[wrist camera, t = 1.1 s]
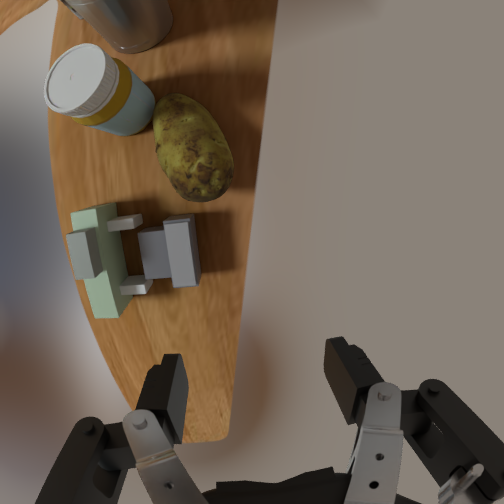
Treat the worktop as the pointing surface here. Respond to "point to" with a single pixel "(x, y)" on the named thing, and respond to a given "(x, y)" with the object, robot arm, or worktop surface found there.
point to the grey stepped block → (172, 251)
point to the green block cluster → (104, 259)
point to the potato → (191, 148)
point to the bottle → (98, 91)
